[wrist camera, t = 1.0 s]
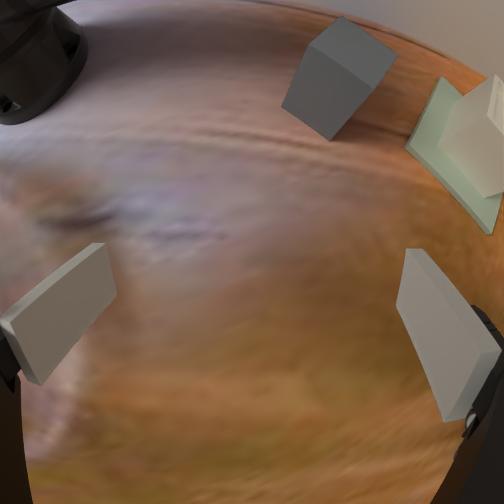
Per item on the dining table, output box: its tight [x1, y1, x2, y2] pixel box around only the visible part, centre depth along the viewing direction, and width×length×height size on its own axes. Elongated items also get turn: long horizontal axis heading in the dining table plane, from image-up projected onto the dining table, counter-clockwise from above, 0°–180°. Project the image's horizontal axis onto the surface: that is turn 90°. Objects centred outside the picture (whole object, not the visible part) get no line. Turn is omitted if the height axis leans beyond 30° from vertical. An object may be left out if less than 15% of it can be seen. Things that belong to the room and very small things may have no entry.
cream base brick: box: [437, 73, 504, 198], centre depth 27 cm, size 10×10×9 cm
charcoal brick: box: [281, 16, 398, 141], centre depth 25 cm, size 6×6×10 cm
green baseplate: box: [404, 76, 503, 235], centre depth 32 cm, size 16×16×1 cm
